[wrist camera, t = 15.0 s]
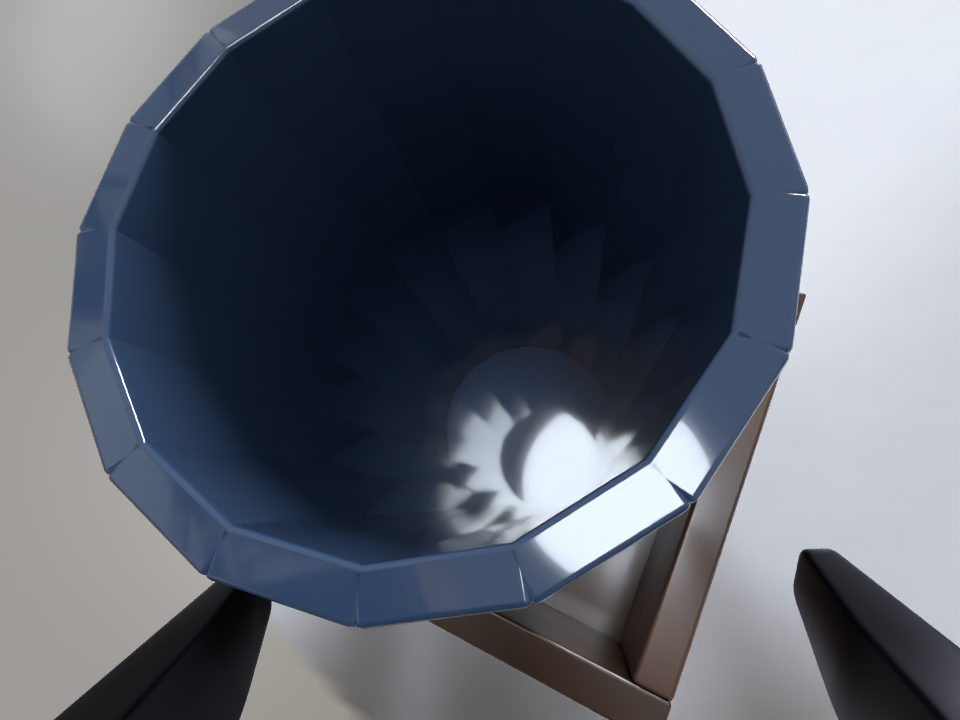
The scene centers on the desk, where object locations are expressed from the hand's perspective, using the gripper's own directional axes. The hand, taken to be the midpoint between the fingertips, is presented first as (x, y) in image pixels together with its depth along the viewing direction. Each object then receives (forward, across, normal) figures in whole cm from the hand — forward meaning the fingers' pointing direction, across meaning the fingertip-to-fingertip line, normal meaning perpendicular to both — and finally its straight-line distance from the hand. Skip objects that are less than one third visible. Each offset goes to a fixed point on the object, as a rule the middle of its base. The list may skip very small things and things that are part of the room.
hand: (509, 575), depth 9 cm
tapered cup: (+8, 0, +3) cm, 8 cm away
